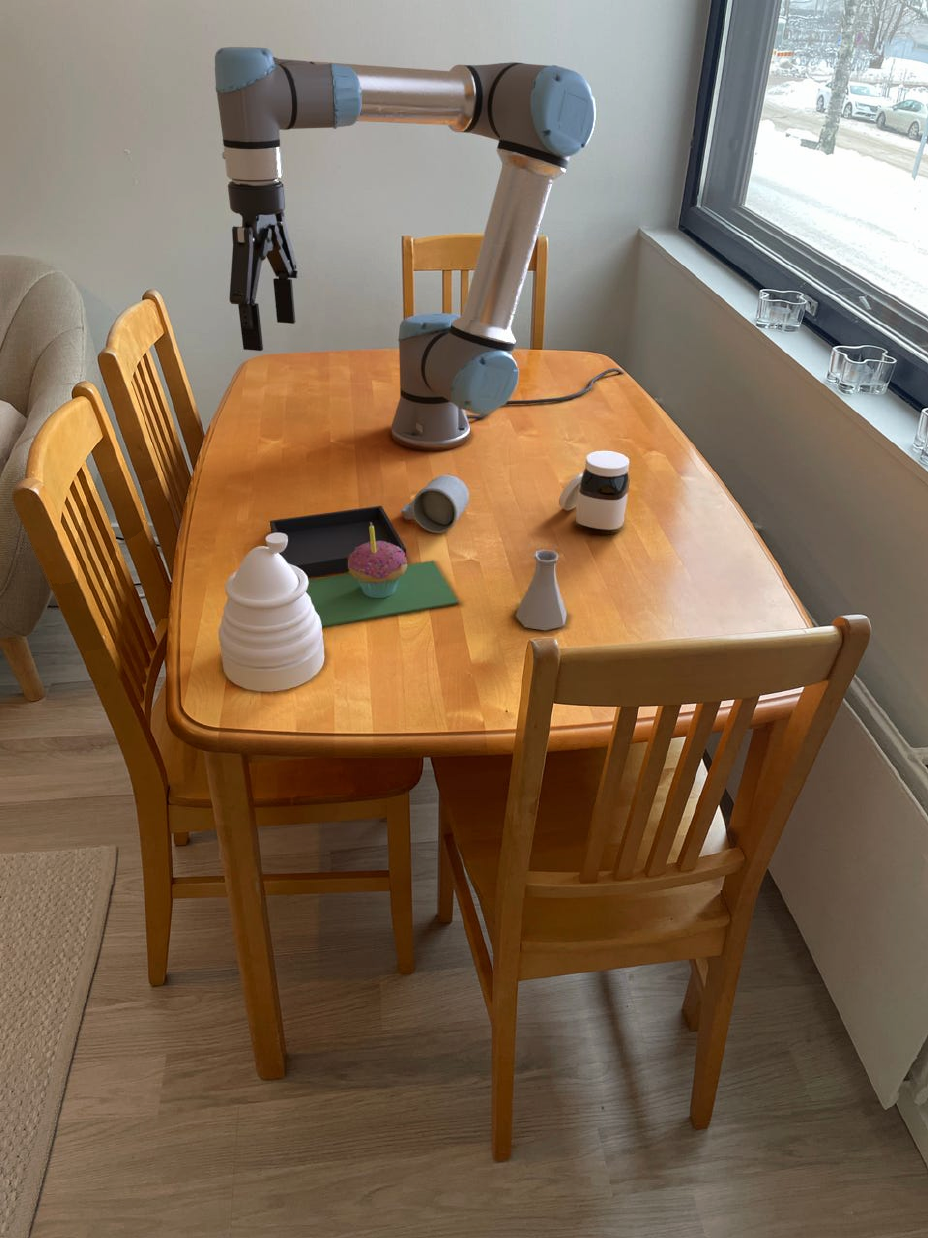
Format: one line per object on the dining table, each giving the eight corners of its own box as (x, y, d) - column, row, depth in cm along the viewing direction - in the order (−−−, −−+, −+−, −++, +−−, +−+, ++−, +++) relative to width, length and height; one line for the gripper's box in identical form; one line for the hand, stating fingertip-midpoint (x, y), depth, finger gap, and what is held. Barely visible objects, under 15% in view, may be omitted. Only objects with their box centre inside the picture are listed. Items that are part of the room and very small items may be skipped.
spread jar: (617, 543, 145) (626, 476, 139) (548, 530, 148) (553, 464, 142) (630, 510, 155) (639, 446, 148) (565, 499, 158) (571, 435, 151)
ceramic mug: (471, 514, 152) (472, 472, 148) (456, 537, 146) (456, 493, 141) (412, 505, 155) (410, 463, 150) (394, 527, 148) (392, 483, 144)
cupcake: (398, 609, 128) (397, 533, 121) (340, 601, 129) (335, 526, 122) (413, 577, 135) (413, 504, 128) (358, 570, 136) (354, 498, 129)
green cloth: (433, 562, 139) (433, 560, 139) (458, 604, 130) (458, 601, 129) (302, 583, 133) (302, 580, 133) (319, 628, 124) (319, 625, 124)
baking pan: (381, 518, 150) (381, 505, 149) (406, 562, 139) (406, 548, 137) (270, 534, 145) (269, 520, 144) (287, 581, 134) (285, 566, 132)
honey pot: (324, 629, 124) (315, 511, 114) (324, 688, 113) (314, 564, 103) (228, 634, 122) (210, 514, 112) (218, 694, 112) (197, 569, 102)
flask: (512, 603, 130) (515, 542, 124) (562, 602, 131) (568, 541, 125) (518, 632, 124) (523, 570, 119) (571, 631, 125) (578, 568, 119)
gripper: (263, 165, 136) (276, 310, 147) (189, 194, 115) (212, 359, 127) (311, 167, 134) (320, 314, 146) (246, 197, 114) (263, 364, 126)
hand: (270, 335), depth 137 cm, fingers open, 13 cm apart
